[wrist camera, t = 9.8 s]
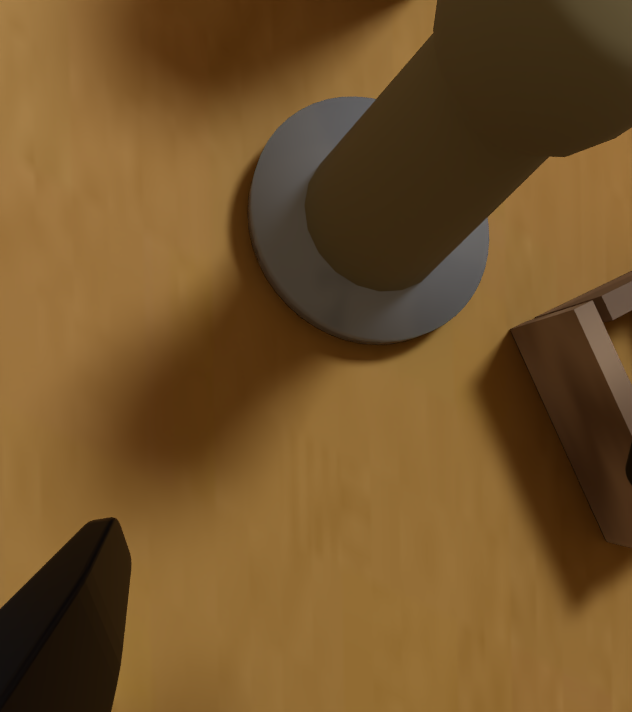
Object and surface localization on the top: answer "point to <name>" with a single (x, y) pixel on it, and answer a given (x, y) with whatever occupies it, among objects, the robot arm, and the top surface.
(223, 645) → the top surface
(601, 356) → the frame
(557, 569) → the top surface
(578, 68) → the cork
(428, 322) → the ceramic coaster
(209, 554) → the top surface
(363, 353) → the top surface
